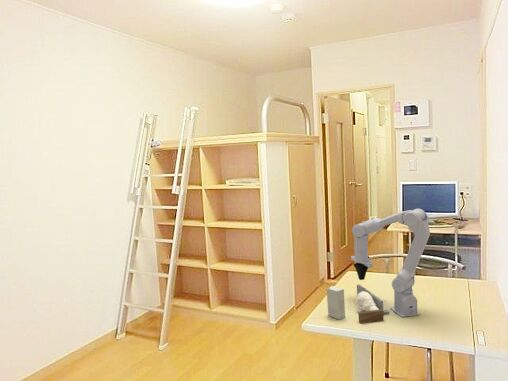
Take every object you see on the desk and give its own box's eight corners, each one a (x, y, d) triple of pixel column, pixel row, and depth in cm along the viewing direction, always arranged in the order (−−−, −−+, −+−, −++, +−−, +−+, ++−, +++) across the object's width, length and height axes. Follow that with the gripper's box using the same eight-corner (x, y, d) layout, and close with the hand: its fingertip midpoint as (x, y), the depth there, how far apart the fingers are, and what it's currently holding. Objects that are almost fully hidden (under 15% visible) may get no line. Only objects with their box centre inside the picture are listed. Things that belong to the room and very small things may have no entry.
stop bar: (383, 320, 160) (383, 310, 160) (360, 323, 158) (360, 313, 158) (381, 318, 162) (381, 309, 161) (358, 321, 160) (358, 312, 160)
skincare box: (345, 317, 165) (345, 288, 164) (338, 320, 162) (338, 291, 161) (333, 312, 170) (333, 285, 169) (326, 316, 167) (326, 287, 166)
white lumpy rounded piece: (367, 288, 173) (385, 300, 162) (366, 307, 174) (384, 319, 163) (354, 290, 171) (372, 302, 159) (354, 309, 172) (371, 322, 161)
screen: (389, 314, 166) (389, 300, 166) (380, 315, 165) (379, 301, 165) (365, 296, 188) (365, 283, 187) (356, 297, 187) (356, 284, 186)
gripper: (378, 252, 173) (378, 282, 175) (359, 245, 187) (360, 273, 188) (364, 254, 171) (364, 285, 172) (346, 247, 185) (347, 275, 186)
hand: (361, 279), depth 180 cm, fingers closed
